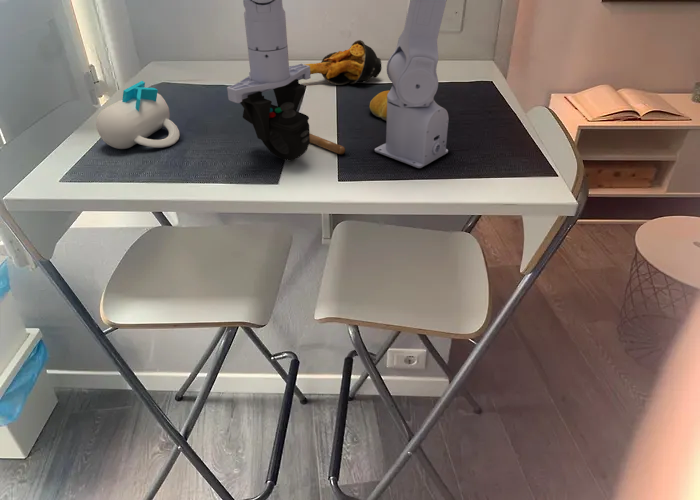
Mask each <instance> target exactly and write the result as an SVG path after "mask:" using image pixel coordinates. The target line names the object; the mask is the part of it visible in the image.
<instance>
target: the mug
mask: <svg viewBox="0 0 700 500" xmlns="http://www.w3.org/2000/svg"><path fill="white" fill-rule="evenodd" d="M145 84H146V82H145V81H143V80H140V81H138V82H137V83H134V84H133V85H131V86H129V87H127V88H125V89H124V90H122V99H119V100H117V101H116V102H114V103H112V104H110V105H108V106H106V107H104V108H103V109H102V110H101V111H100V112H99V113H98V115H97V117H96V123H95V124H96V130H97V133H98V135H99V137H100V139H101V140H102V141H103V142H104V143H105V144H106V145H108V146H110V147H111V148H113V149H118V150H126V149H130V148H132V147H133V146H135V145H137V144H138V145H140V146H143V147H147V148H153V149H162V148H168V147H170V146H173V145H175V144H176V143H177V142H179V139H180V136H181V135H180V134H181V133H180V130H179V128H178V125H176V124H175V122H173V120H171V119H170V118H171V117H170V114H171V112H170V108H169V105H168V104H167V102H166V100H165V99H164V97H163V96H162V95H161V94H160V93H158V92H159V90H158V89H157V88H156V87H145V86H146V85H145ZM162 128H165V129H166V130H167V131H168V135H167V136H166V137H165V138H162V139H152V138H148V137H150V136H151V135H153V134H154V133H156V132H158V131H160V130H161V129H162Z"/></svg>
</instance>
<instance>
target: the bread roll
mask: <svg viewBox="0 0 700 500" xmlns="http://www.w3.org/2000/svg"><path fill="white" fill-rule="evenodd" d="M390 90H391V89H390ZM390 90H388V89H387V90H384V91H380V92H379V93H377V94H376V95H375V96H373V98H372V99H371V100H370V102H369V111H370V112H371V114H372V115H374V116H375V117H377V118H380V119H382V120H384V121H386V122H387V94H388V93H389V91H390Z"/></svg>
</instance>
